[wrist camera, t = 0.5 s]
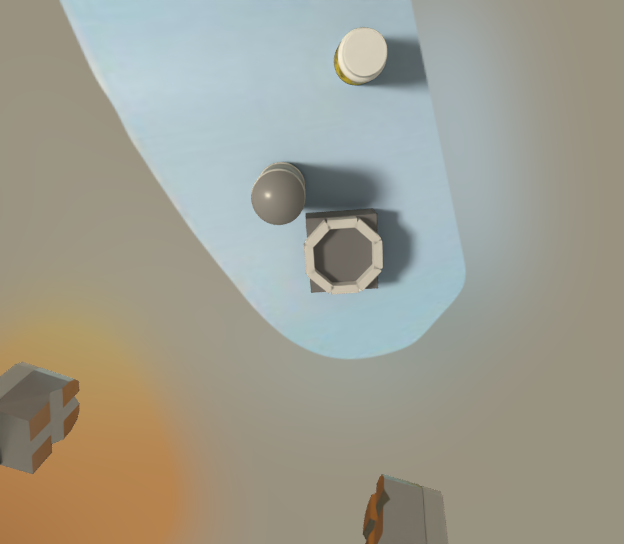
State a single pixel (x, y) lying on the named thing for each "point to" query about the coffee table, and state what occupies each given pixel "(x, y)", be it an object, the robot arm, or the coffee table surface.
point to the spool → (279, 193)
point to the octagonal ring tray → (343, 251)
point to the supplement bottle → (360, 56)
